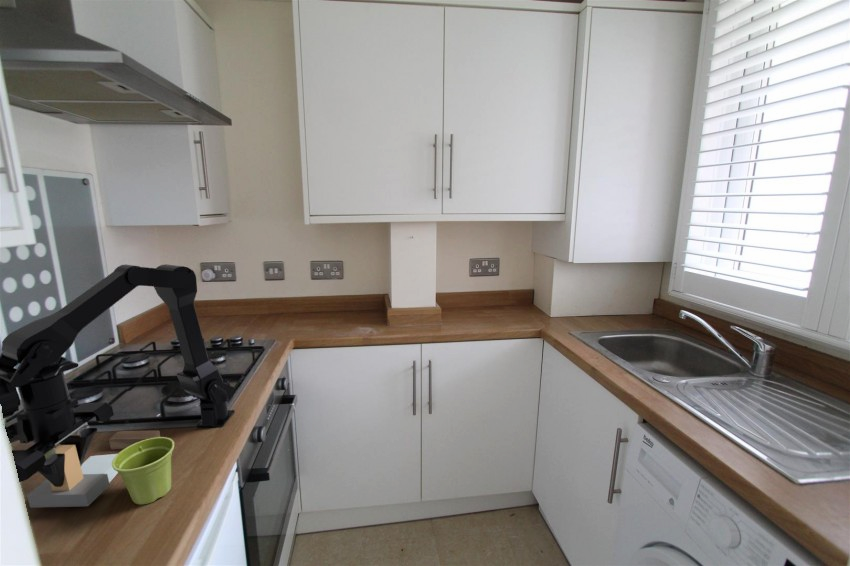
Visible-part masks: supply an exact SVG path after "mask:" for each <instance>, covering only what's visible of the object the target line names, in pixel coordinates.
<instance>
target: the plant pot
mask: <svg viewBox="0 0 850 566" xmlns="http://www.w3.org/2000/svg"><path fill="white" fill-rule="evenodd" d="M174 448H175V441H174V440H173V439H172V438H170V437H165V436H160V437H155V438H150V439H146V440H142V441H140V442H137V443H135V444H132V445H130V446H129V447H127V448H125V449H121V450H120V451H119V452H118V453H116V454H117V455H116V456H115V458H114V459H113V461H112V467H113V469H114V470H116V471H117V472H118V473H117V474H118V475H120V476H121V479H122V481H123V482H124V484H125V487H126V489H127V492H128V494H129V495H130V499H131V501H132V502H133V503H134V504H136V505H146V504H150V503H153V502H155V501H157V500H158V499H159V498H162V497H165V496H166V495H167V494H168V493H169V492H170V490H171V488H172V455H173V451H174Z"/></svg>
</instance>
